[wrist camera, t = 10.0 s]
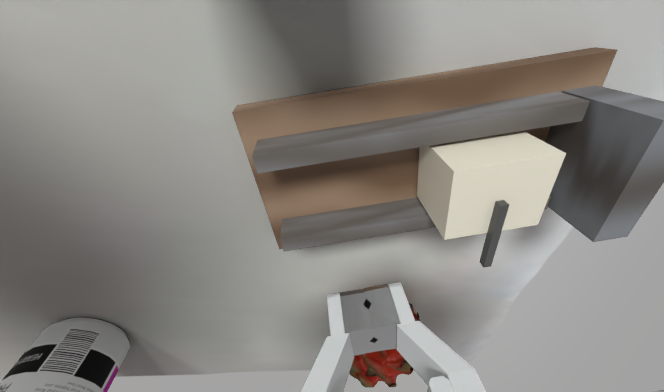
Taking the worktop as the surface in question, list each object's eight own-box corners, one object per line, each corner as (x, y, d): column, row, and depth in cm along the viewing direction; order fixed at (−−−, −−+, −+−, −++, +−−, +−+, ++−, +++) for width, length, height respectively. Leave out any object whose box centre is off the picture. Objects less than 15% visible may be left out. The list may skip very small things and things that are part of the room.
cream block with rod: (420, 136, 18) (458, 176, 14) (506, 122, 18) (574, 157, 14) (415, 221, 23) (443, 273, 18) (485, 210, 23) (531, 259, 18)
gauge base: (237, 105, 18) (201, 153, 12) (595, 47, 18) (752, 64, 12) (280, 237, 25) (273, 312, 18) (540, 195, 24) (620, 256, 18)
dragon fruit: (344, 324, 36) (380, 255, 32) (402, 365, 34) (449, 296, 29) (313, 373, 29) (354, 292, 25) (384, 431, 26) (444, 351, 22)
